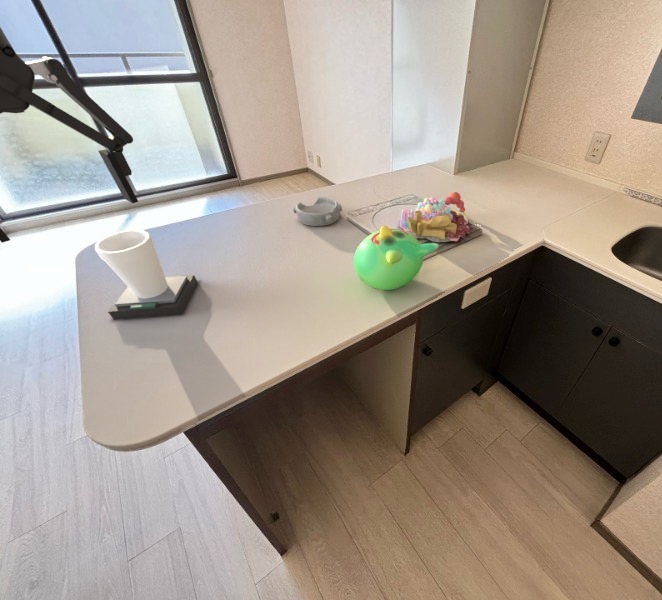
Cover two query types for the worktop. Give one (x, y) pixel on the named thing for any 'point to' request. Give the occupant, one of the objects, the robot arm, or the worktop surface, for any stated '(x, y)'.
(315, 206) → the dish
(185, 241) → the worktop surface
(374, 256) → the toy bird
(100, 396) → the worktop surface
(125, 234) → the foam cup
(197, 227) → the worktop surface
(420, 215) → the candy landscape model
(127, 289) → the scale
